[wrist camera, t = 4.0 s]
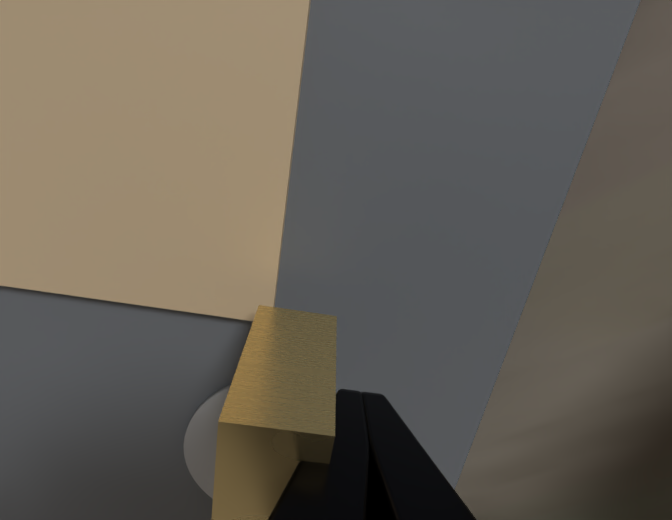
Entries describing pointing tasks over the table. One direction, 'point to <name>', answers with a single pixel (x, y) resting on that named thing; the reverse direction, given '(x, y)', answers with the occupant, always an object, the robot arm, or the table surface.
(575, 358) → the table surface
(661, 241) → the table surface
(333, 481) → the robot arm
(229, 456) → the yellow rectangular block
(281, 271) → the panel
